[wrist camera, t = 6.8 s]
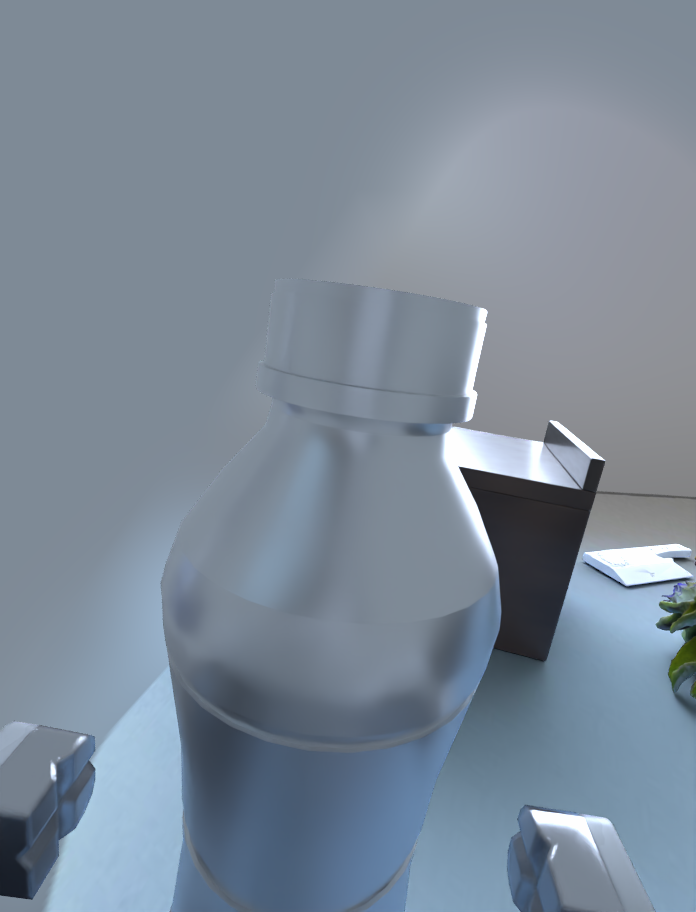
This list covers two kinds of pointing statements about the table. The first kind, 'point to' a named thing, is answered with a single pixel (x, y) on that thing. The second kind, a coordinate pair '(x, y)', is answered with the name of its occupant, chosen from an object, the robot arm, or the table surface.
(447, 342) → the plastic bottle
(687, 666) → the passion flower
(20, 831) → the robot arm
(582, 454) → the block with raised lip
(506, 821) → the table surface
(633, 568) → the white plastic strip tool
